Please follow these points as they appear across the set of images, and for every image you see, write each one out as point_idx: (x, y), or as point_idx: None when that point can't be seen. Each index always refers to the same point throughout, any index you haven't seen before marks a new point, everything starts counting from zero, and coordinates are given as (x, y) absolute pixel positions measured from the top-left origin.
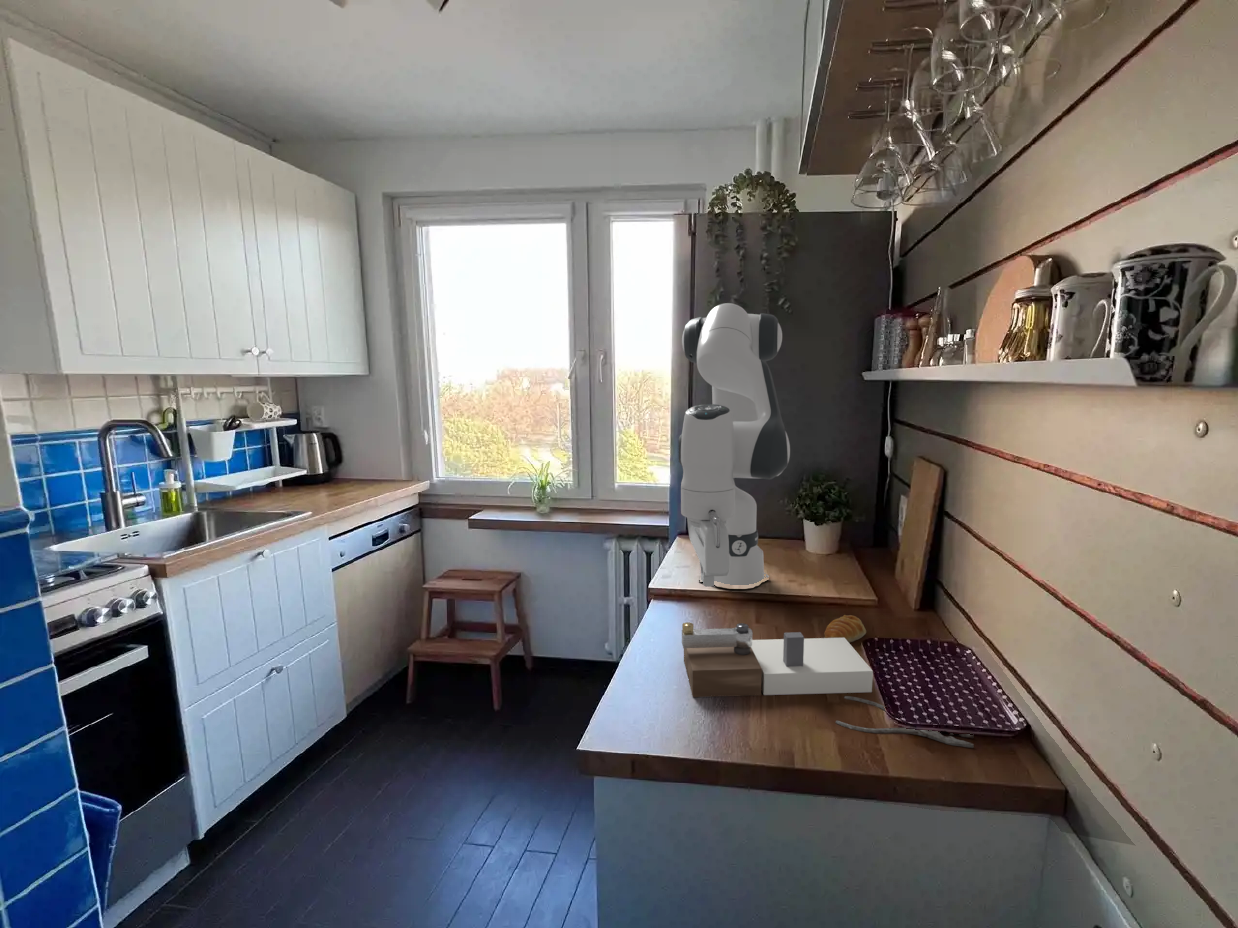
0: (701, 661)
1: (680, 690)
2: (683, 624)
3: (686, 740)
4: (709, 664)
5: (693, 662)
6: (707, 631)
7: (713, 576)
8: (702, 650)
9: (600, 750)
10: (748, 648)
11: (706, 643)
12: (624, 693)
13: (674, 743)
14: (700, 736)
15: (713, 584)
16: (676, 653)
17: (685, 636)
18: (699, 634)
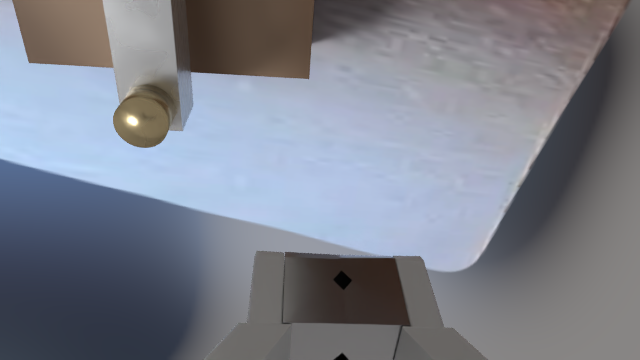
0: (244, 33)
1: None
2: (141, 143)
3: (502, 98)
4: (269, 7)
5: (250, 65)
6: (134, 16)
7: (448, 332)
8: None
9: (477, 259)
10: None
11: (182, 17)
12: (271, 210)
13: (504, 127)
14: (498, 61)
15: (423, 264)
16: (16, 46)
17: (183, 120)
18: (171, 62)
